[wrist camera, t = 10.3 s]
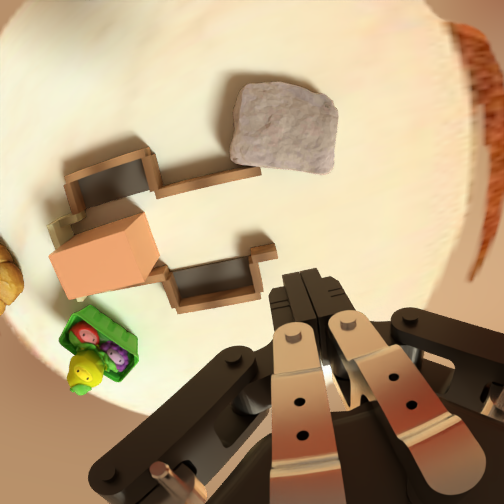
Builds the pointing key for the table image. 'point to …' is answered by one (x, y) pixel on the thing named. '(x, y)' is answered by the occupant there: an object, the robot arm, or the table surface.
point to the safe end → (61, 238)
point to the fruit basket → (97, 349)
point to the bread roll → (9, 279)
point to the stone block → (284, 128)
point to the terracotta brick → (106, 257)
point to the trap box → (149, 178)
